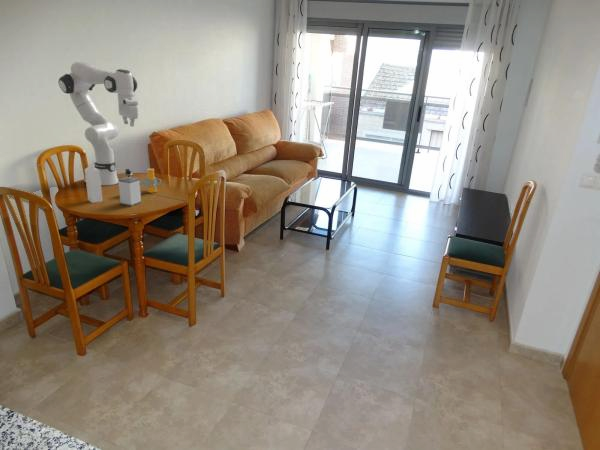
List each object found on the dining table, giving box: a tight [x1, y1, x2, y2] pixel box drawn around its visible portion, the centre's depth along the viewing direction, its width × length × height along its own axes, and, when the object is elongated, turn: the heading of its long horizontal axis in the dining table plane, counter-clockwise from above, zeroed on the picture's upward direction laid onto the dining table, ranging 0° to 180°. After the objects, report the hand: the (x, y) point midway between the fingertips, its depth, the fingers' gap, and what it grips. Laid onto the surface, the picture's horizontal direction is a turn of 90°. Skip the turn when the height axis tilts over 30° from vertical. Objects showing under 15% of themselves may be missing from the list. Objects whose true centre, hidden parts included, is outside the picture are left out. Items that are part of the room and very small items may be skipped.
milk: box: [84, 163, 103, 204], centre depth 241 cm, size 6×6×22 cm
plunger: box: [124, 168, 133, 180], centre depth 241 cm, size 5×5×19 cm
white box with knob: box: [118, 176, 142, 207], centre depth 244 cm, size 8×12×15 cm, turn 159°
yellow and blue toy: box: [140, 167, 162, 194], centre depth 266 cm, size 12×10×15 cm
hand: (129, 125), depth 238 cm, fingers open, 8 cm apart
